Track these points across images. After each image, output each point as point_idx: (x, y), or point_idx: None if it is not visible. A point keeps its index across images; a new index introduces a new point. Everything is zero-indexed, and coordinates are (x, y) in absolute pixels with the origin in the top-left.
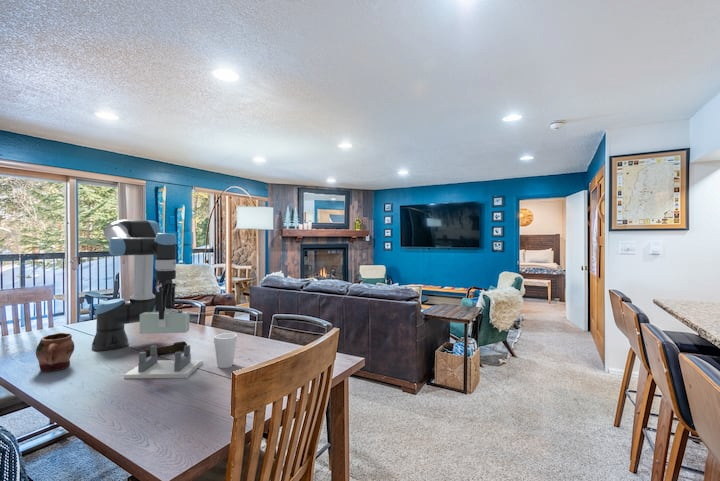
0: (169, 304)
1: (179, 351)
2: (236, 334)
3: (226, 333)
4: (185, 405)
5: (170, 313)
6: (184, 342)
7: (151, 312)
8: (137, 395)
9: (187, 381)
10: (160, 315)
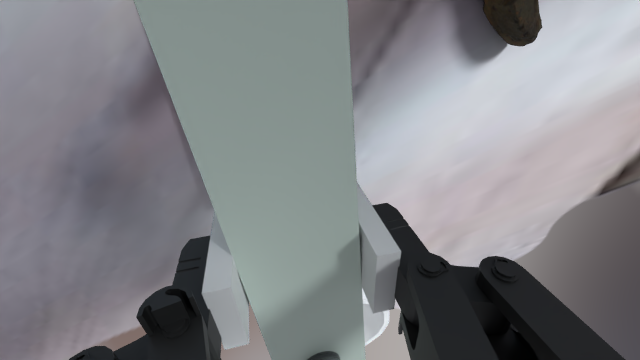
0: (415, 352)
1: (489, 21)
2: (367, 343)
3: (384, 315)
4: (41, 293)
5: (279, 325)
6: (528, 39)
7: (320, 83)
8: (20, 138)
9: (187, 218)
10: (188, 285)
